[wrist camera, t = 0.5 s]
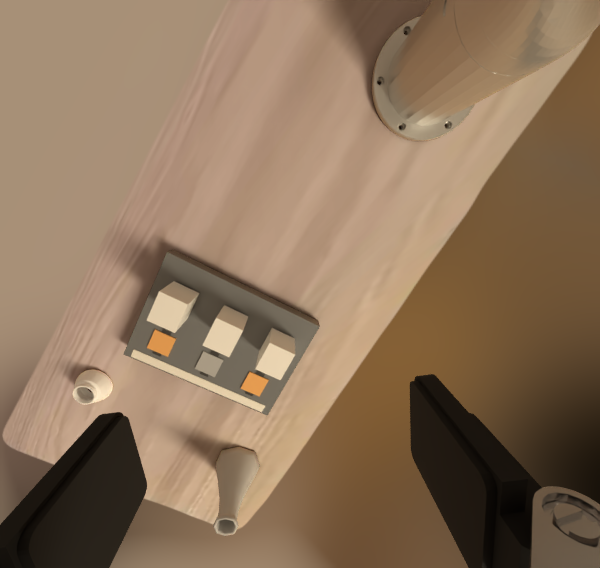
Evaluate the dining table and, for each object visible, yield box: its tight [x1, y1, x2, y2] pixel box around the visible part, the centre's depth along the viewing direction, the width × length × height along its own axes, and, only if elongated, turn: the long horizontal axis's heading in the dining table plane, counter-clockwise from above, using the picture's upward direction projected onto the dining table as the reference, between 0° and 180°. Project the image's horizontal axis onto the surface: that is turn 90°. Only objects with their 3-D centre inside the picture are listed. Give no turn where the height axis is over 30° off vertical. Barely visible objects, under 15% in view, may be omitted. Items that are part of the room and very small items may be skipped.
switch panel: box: [124, 250, 320, 415], centre depth 42 cm, size 16×22×2 cm
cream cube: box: [255, 328, 295, 380], centre depth 39 cm, size 4×4×4 cm
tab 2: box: [202, 305, 248, 357], centre depth 38 cm, size 4×4×4 cm
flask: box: [213, 447, 260, 536], centre depth 44 cm, size 7×7×10 cm
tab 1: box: [147, 281, 199, 333], centre depth 37 cm, size 4×4×4 cm
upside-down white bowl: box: [73, 369, 113, 405], centre depth 43 cm, size 5×3×5 cm
